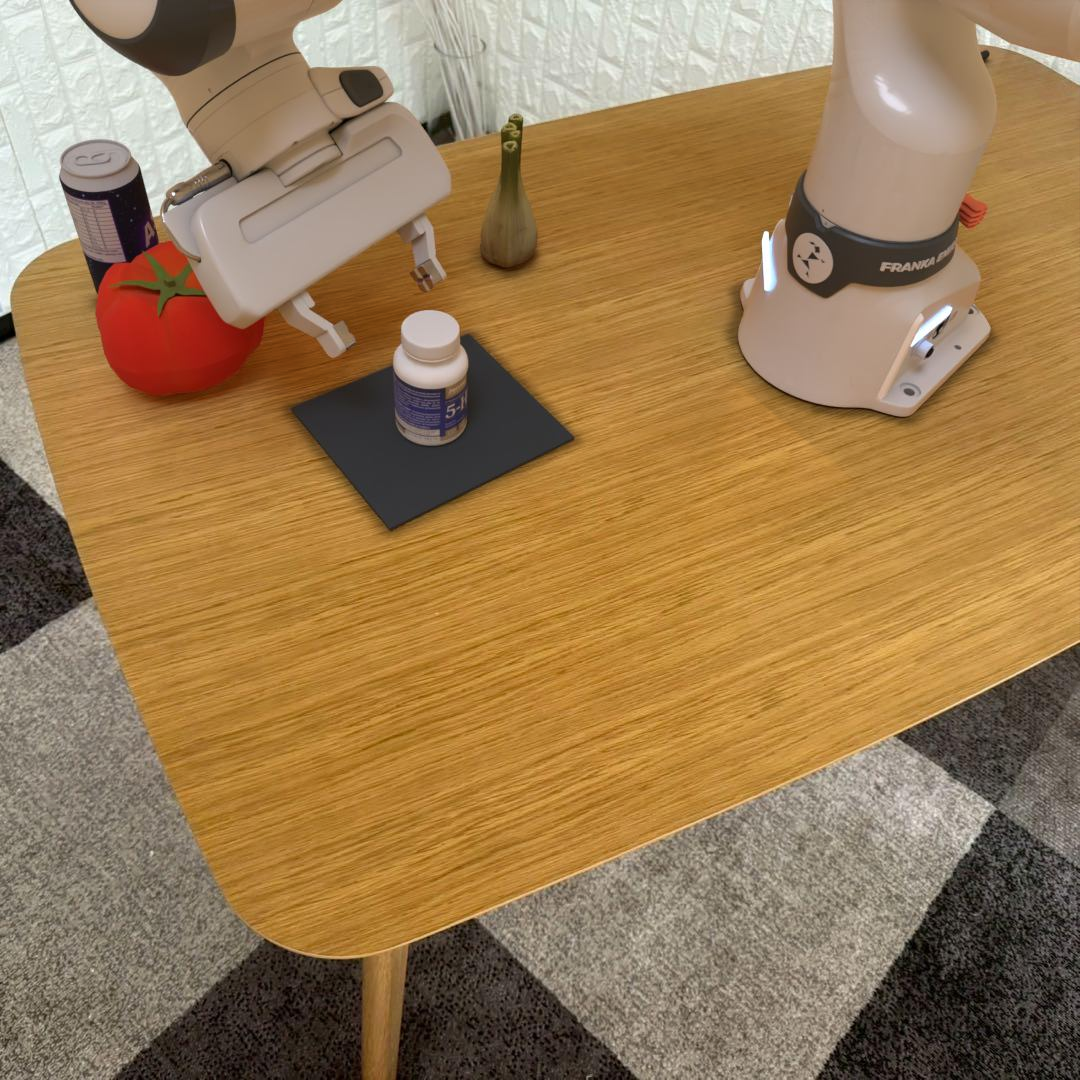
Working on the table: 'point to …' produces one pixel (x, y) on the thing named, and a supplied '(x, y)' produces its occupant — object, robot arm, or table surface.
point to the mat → (429, 471)
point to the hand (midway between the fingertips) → (391, 317)
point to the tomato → (167, 326)
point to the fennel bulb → (509, 206)
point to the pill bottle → (430, 379)
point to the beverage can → (107, 204)
